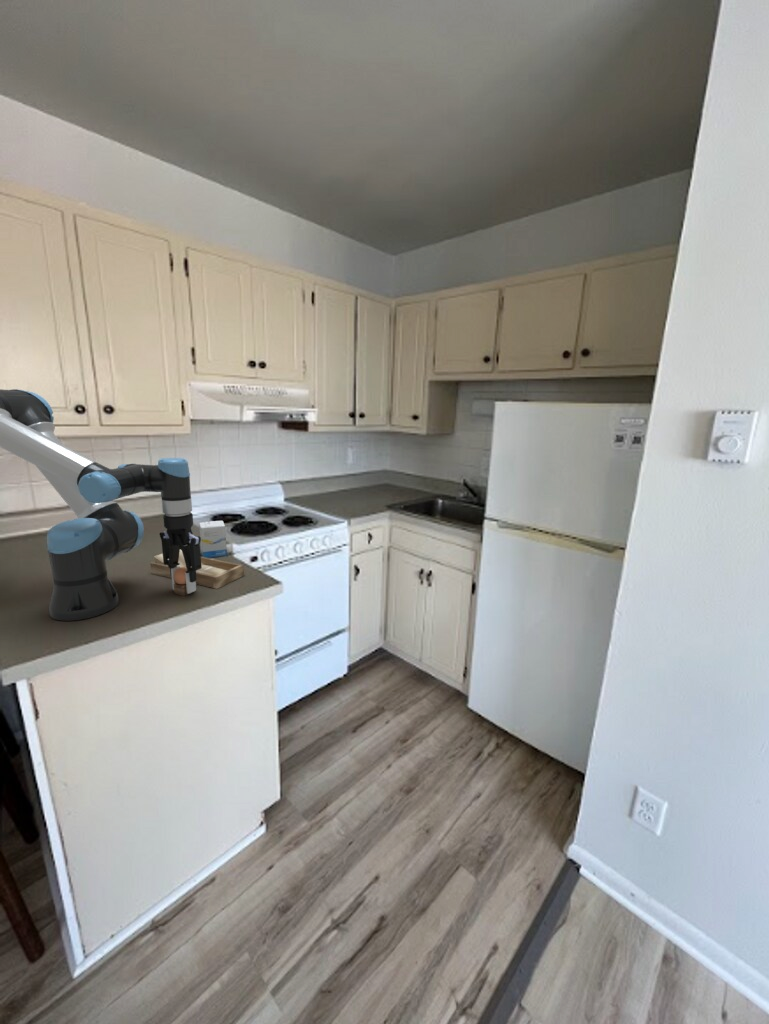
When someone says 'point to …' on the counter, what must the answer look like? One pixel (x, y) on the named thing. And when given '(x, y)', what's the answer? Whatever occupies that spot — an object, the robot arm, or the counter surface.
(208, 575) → the tray
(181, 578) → the ball
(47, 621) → the counter surface
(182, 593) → the small brown open box
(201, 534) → the ink box
